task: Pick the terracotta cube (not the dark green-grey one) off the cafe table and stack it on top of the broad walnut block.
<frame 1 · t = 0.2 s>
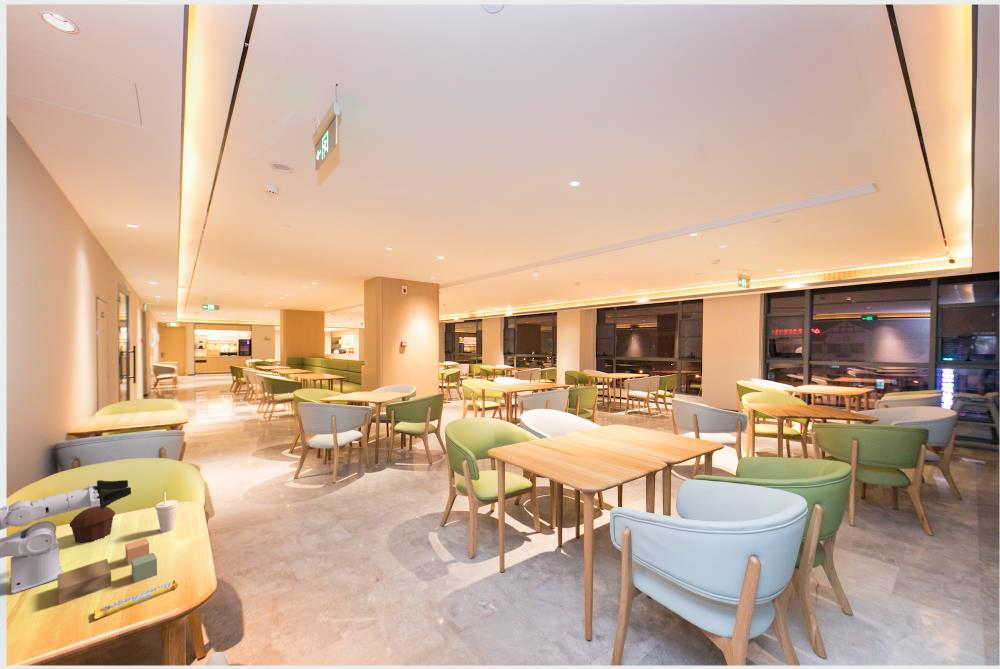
hand: (129, 486, 130), 21 cm above the table, tool horizontal, fingers open, 7 cm apart
muffin: (93, 537, 140), on the table
terracotta cube: (137, 559, 126), on the table
candy bar: (138, 602, 107), on the table
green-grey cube: (144, 575, 118), on the table
smoothie: (167, 530, 144), on the table
walnut block: (84, 587, 113), on the table
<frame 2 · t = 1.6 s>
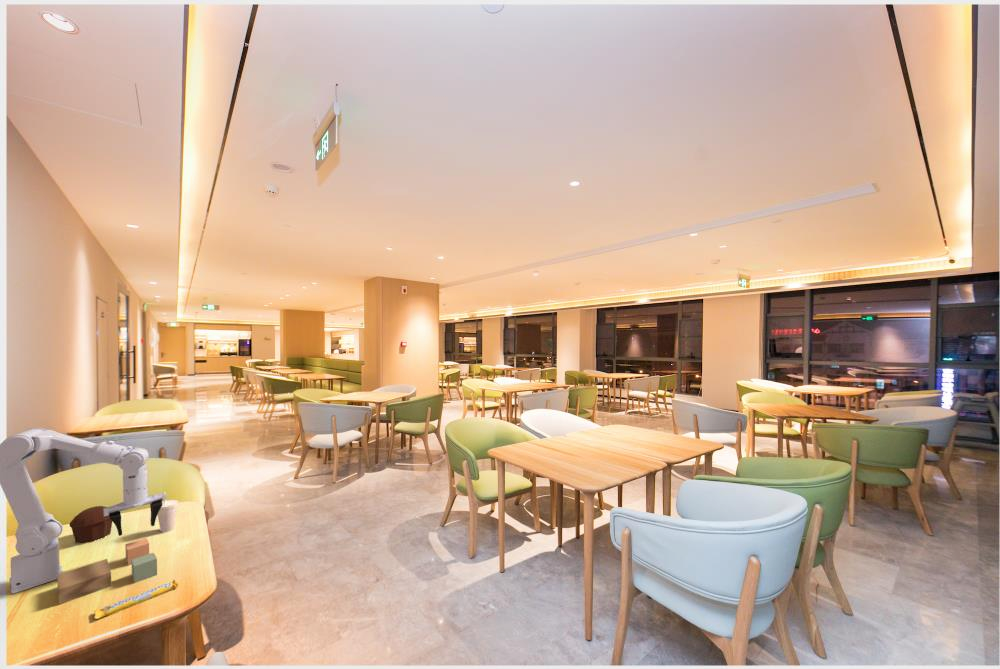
hand: (136, 529, 126), 9 cm above the table, tool pointing down, fingers open, 7 cm apart
nothing on the table moved.
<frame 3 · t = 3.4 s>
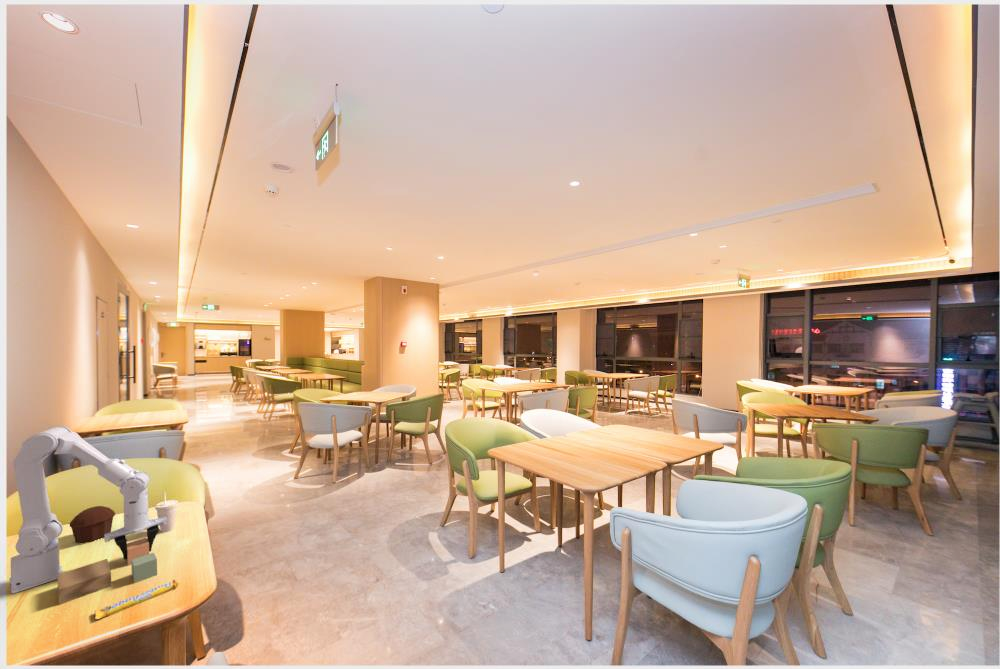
hand: (137, 554, 126), 1 cm above the table, tool pointing down, fingers closed on terracotta cube, 5 cm apart
terracotta cube: (137, 558, 126), on the table, touching gripper
everything else where it was.
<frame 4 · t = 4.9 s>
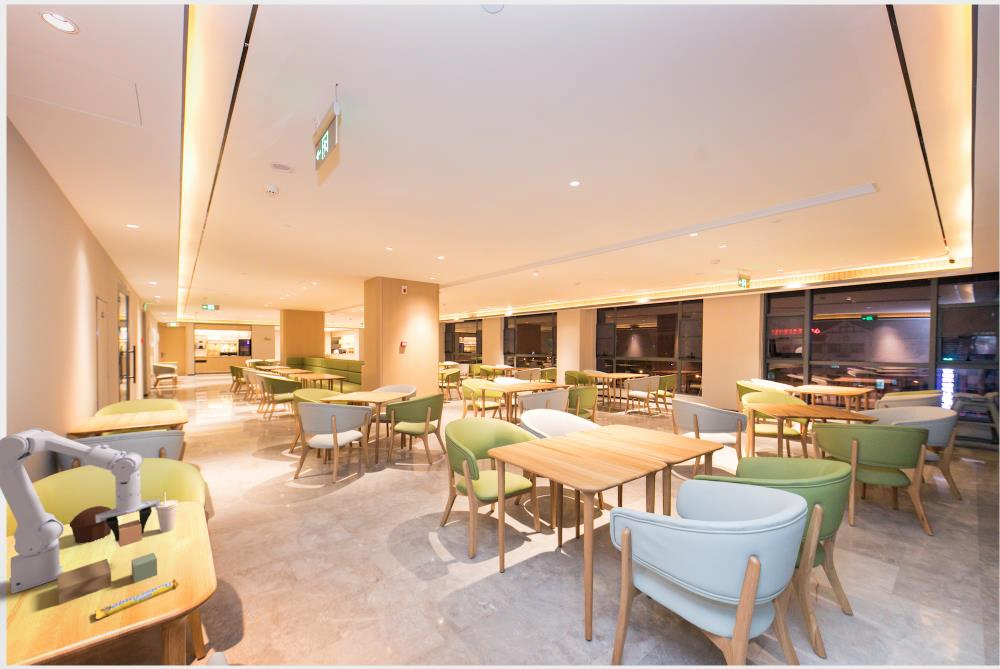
hand: (129, 536, 124), 8 cm above the table, tool pointing down, fingers closed on terracotta cube, 5 cm apart
terracotta cube: (129, 540, 124), point 7 cm above the table, touching gripper
everything else where it was.
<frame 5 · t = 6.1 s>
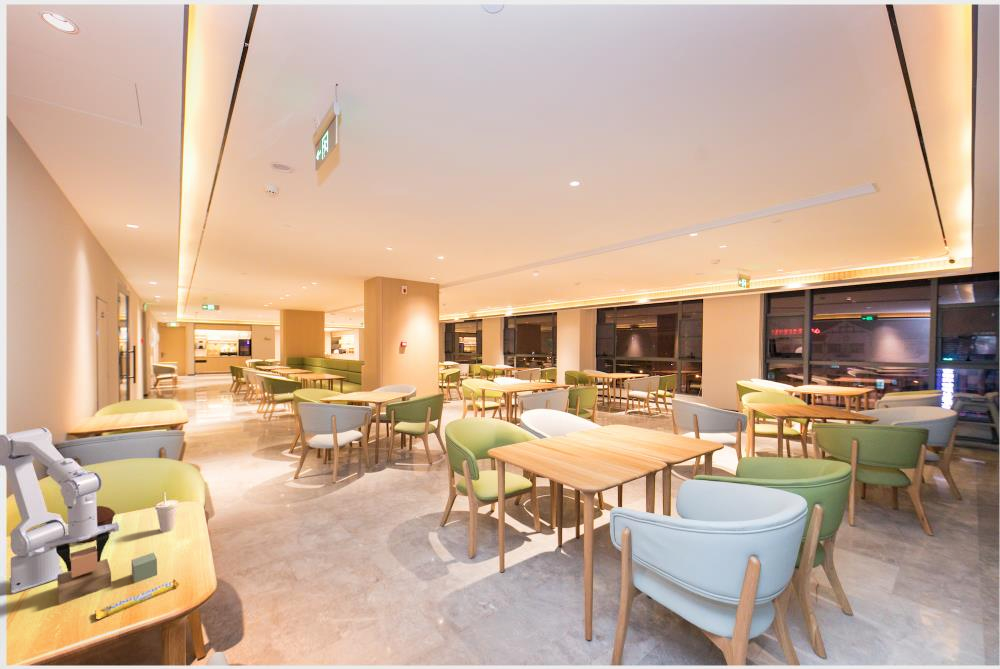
hand: (84, 565, 112), 6 cm above the table, tool pointing down, fingers closed on terracotta cube, 5 cm apart
terracotta cube: (84, 570, 112), point 5 cm above the table, touching gripper
everything else where it was.
when the fingers open (6 cm above the table, at t = 6.8 s): terracotta cube stays where it is, resting on walnut block.
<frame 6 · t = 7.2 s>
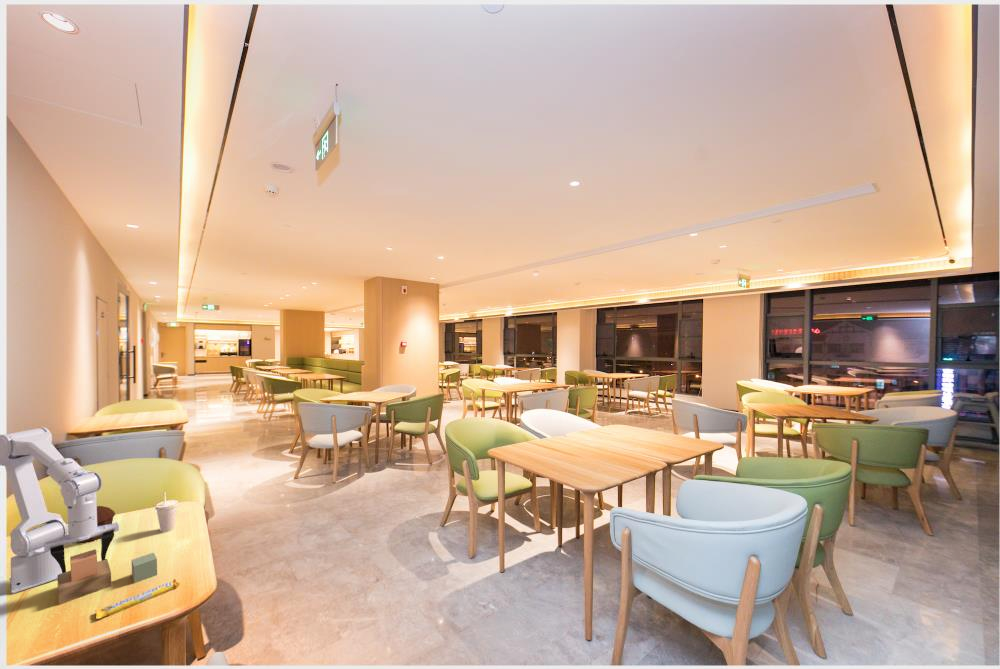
hand: (84, 565, 112), 6 cm above the table, tool pointing down, fingers open, 7 cm apart
terracotta cube: (84, 573, 112), point 4 cm above the table, touching walnut block
everything else where it was.
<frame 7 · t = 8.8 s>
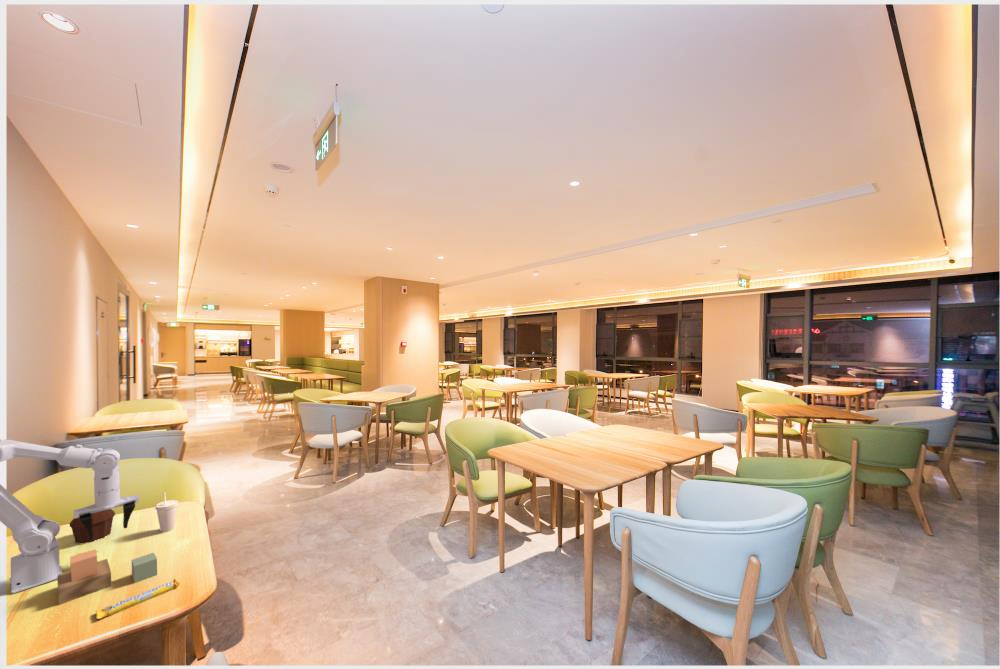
hand: (108, 531, 125), 9 cm above the table, tool pointing down, fingers open, 7 cm apart
nothing on the table moved.
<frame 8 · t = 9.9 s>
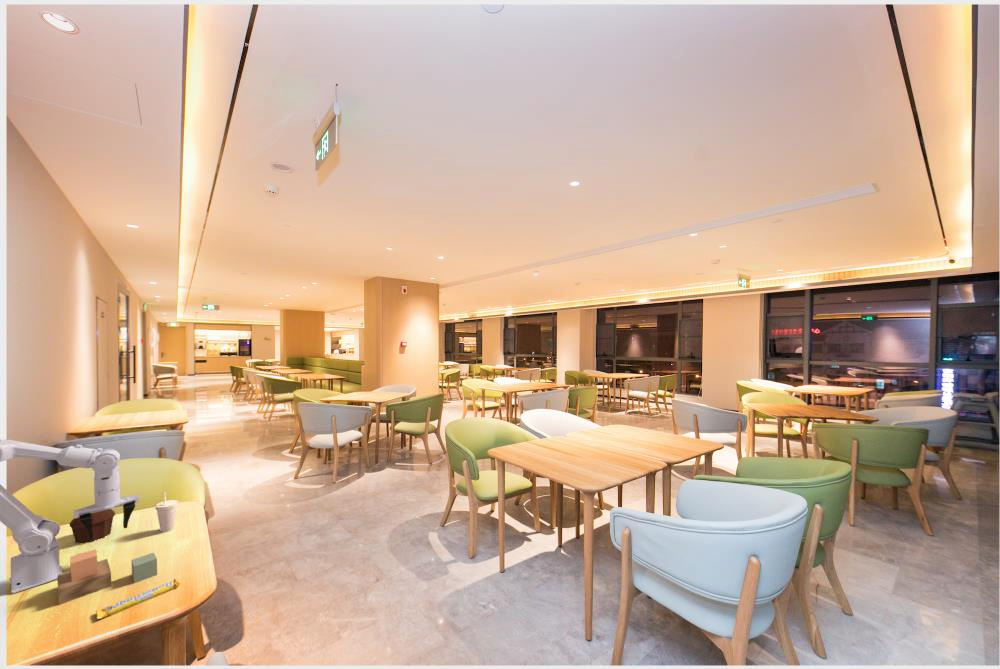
hand: (108, 531, 125), 9 cm above the table, tool pointing down, fingers open, 7 cm apart
nothing on the table moved.
at the end: terracotta cube 0.1 cm off-centre on the walnut block, point 4.0 cm above the walnut block's base; terracotta cube touching walnut block; the gripper is holding nothing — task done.
